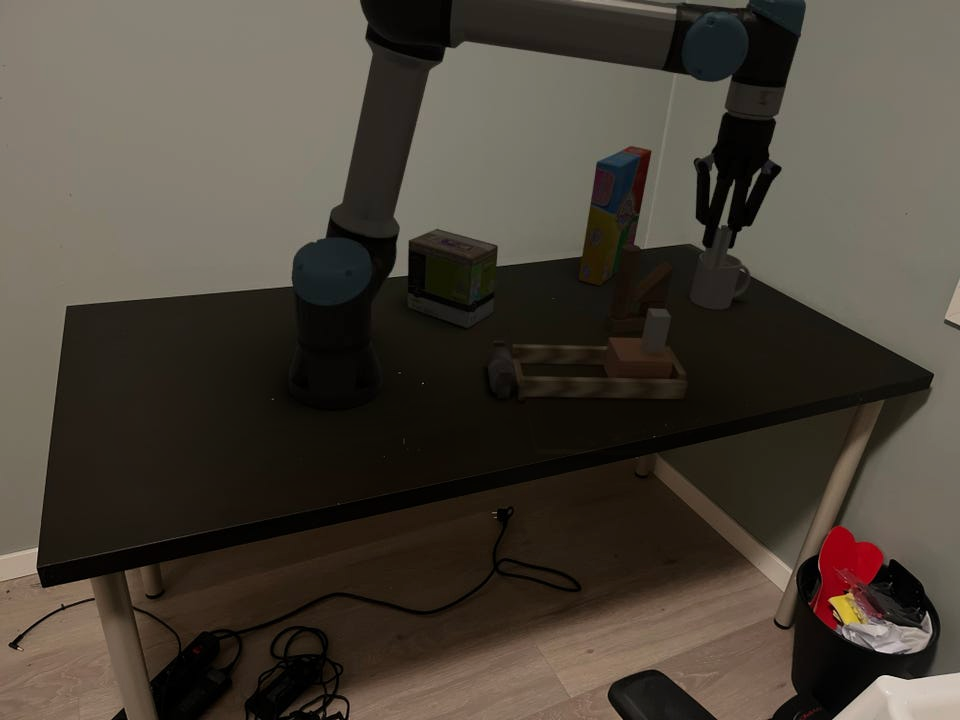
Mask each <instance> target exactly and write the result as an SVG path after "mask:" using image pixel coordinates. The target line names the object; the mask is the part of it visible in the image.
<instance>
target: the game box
mask: <svg viewBox="0 0 960 720" xmlns="http://www.w3.org/2000/svg"><path fill="white" fill-rule="evenodd" d="M652 152H653V151H652V149H648V148H642V147H638V146H632V145H629V146H627V147H626V148H624V149H622V150H620V151H618V152H616V153H614V154H612V155H609V156H607V157H605V158H602V159H601V160H597V161H596V165H595V171H594V178H593V185H592V193H591V198H590V205H589V211H588V217H587V224H586V228H585V235H584V243H583V250H582V255H581V261H580V268H579V274H578V280H579V281H581V282H584V283H588V284H591V285H595V286H602V285H603V284H604V283H605V282H606V281H608V280H609V279H610V278H611V277H612V276H613V275H615V274H617V271H618V265H619V259H620V254H621V248H622V246H623V245H625V244H633V245H635V240H636V236H637V231H638V225H639V218H640V214H641V210H642V203H643V199H644V193H645V188H646V182H647V177H648V173H649V167H650V161H651V157H652Z"/></svg>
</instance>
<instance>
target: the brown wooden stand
mask: <svg viewBox="0 0 960 720" xmlns="http://www.w3.org/2000/svg"><path fill="white" fill-rule="evenodd" d="M641 250H642V249H641V247H640V246H639V245H636V244H634V245H633V244H625V245H623V246H622V248H621V254H620V259H619V265H618V271H617V272H616V277H615V281H614V282H615V283H614V289H613V294H612V300H611V304H610V310H609V311H610V312H607V313H606V314H605V320H604V324H603V326H604V327H605V328H606V329H607V330H608V331H609V332H610V333H611V334H621V333H622V334H623V333H631V332H644V327H645V322H646V317H647V313H648V308H649V309H665V306H666V301H667V298H668V295H669V294H668V293H669V289H670V284H671V280H672V276H673V271H674V266H672V265H671V264H669V263H668V262H667V261H665V260H663V261H662V262H661V263H660V264H659V265H657V266H656V267H655V268H654V269H653V270H652V271H650V273H648V275H647V276H645V277H644V278H643V279H641V281H640V282H638V284H637V285H636V286H635V282H636V277H637V274H638V273H637V271H638V267H639V261H640V256H641ZM632 302H633V303H635V304H638V303H639V304H640V305H639V309H638V312H634V311H630V308H631V303H632Z"/></svg>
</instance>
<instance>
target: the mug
mask: <svg viewBox="0 0 960 720" xmlns="http://www.w3.org/2000/svg"><path fill="white" fill-rule="evenodd" d="M704 253H705V251H704V252H702V253H699V255H698V256H699V257H698V261H697V266H696V269H695V274H694V278H693V281H692V285H691V290H690V295H689V300H690V301H691V302H692V303H693V304H695V305H697V306H698V307H702V308H705V309H709V310H715V311H716V310H718V311H719V310H720V311H721V310H726V309H729V308H730V307H731V305H732V302H733V298H738V297H739V296H741V295H742V294H743V293H744V292H746V290H747V289H748V287H749V285H750V282H751V272H750V270H749V268H747V267H746V266H745V265H744V264H743V263H742V260H741V259H740V258H737V257H736V256H735V255H732V254H728V253H727V255H726V259H725V263H724V267H723V270H718V269H717V268H716V267H715V266H713V270H708V269H707V268H706V267H705V266H704V265H703V263H702V261H703V257H704ZM741 270H743V271H744V274H745V278H744V282H743V284H742V286H741V287H740V288H739V289H738V290H736V287H737V283H738V279H739V276H740V272H741Z"/></svg>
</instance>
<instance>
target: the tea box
mask: <svg viewBox="0 0 960 720" xmlns="http://www.w3.org/2000/svg"><path fill="white" fill-rule="evenodd" d="M407 246H408V250H407V253H408V255H407V308H408V309H411V310H414V311H417V312H420V313H423V314H426V315H429V316H432V317H435V318H436V319H437V318H438V319H440V320H442V321H446V322H448V323H452V324H453V325H456V326H460V327H463V328H466V329H469V328H470V327H472V326H475V325H476V324H477V323H479V322H480V321H482V320H483V319H485V318H487V317H488V316H490V315H491V314H493V311H494V302H495V292H496V290H495V288H496V279H497V278H496V277H497V265H498V252H499V251H498V247H499V245H497V244H494V243H491V242H486V241H483V240H479V239H475V238H472V237H468V236H465V235H462V234H457V233H454V232H451V231H446V230H443V229H439V228H435V229H432V230H430V231H427V232H426V233H423V234H421V235H419V236H416V237H414V238H411V239H409V240H408V245H407Z"/></svg>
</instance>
